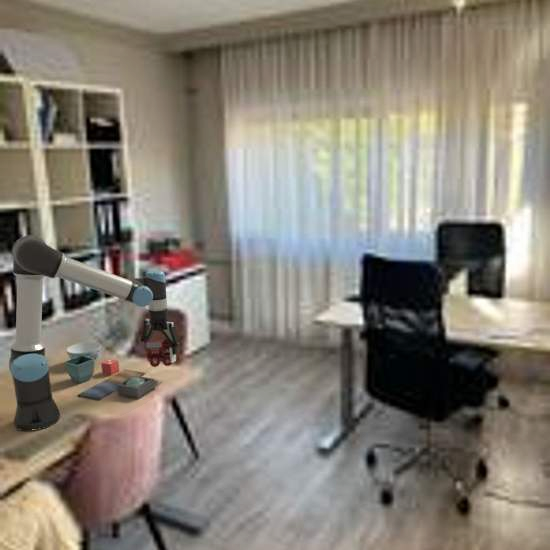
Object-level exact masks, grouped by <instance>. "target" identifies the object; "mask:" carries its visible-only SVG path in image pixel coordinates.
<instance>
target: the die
mask: <svg viewBox="0 0 550 550" xmlns="http://www.w3.org/2000/svg"><path fill="white" fill-rule="evenodd" d="M100 366H101V373H102V375H105V374H106V375H107V376H111V375H112V376H114V375H116V374H118V373H119V372H120V366H119V360H117V359H112V358H109V359H107V360H105V361H103V362H101V363H100ZM113 374H114V375H113Z"/></svg>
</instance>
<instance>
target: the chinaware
mask: <svg viewBox="0 0 550 550" xmlns="http://www.w3.org/2000/svg"><path fill="white" fill-rule="evenodd" d="M101 350H102V344H101V343H99V342H95V341H84V342H79V343H75V344H73V345H70V346H69V347H67V348H66V353H67V355H68V357H69V358H70V359H69V360H71V359H73V358H76V357H79V356H86V357H89V358H93V359H94V362H95V361H96V360H97V359H98V358H99V356H100V354H101Z"/></svg>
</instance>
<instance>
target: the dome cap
mask: <svg viewBox="0 0 550 550" xmlns="http://www.w3.org/2000/svg"><path fill="white" fill-rule="evenodd" d="M143 383H145V380H144V379H141V378H139V377H132V378H131V379H130V380H129V381H127V382H126V384H127V385H129V386H135V387H138V386H139V385H141V384H143Z"/></svg>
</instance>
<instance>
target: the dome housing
mask: <svg viewBox="0 0 550 550" xmlns="http://www.w3.org/2000/svg"><path fill="white" fill-rule="evenodd" d="M132 377H139V378H141V379H144V380H145V383H143V384H141V385H139V386H138V387H135V386H129V385H127V384H126V382H127V381H129V380H130V379H131V378H132ZM132 377H130V378H128V379H126V380H125V381H123V382H121V383H119V384H117V396H118V397H124V398H129V399H136V400H139V399H141V398H143V397H144V396H146V395H148V394H150V393H151V392H153V391H155V389H156V388H155V379H154V378H153V377H146V376H141V377H140V376H132Z"/></svg>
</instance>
